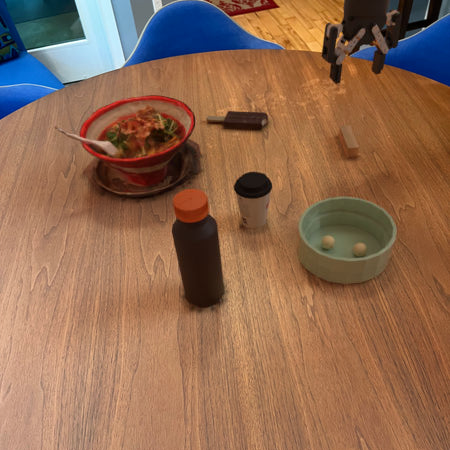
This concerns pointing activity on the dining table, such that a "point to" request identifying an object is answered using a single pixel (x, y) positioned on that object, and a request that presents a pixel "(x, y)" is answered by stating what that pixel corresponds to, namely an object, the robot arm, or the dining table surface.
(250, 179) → the coffee cup
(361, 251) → the chickpea
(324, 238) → the chickpea
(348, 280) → the bowl
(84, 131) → the stew
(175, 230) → the bottle
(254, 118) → the ice cream bar
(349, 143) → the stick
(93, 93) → the dining table surface
